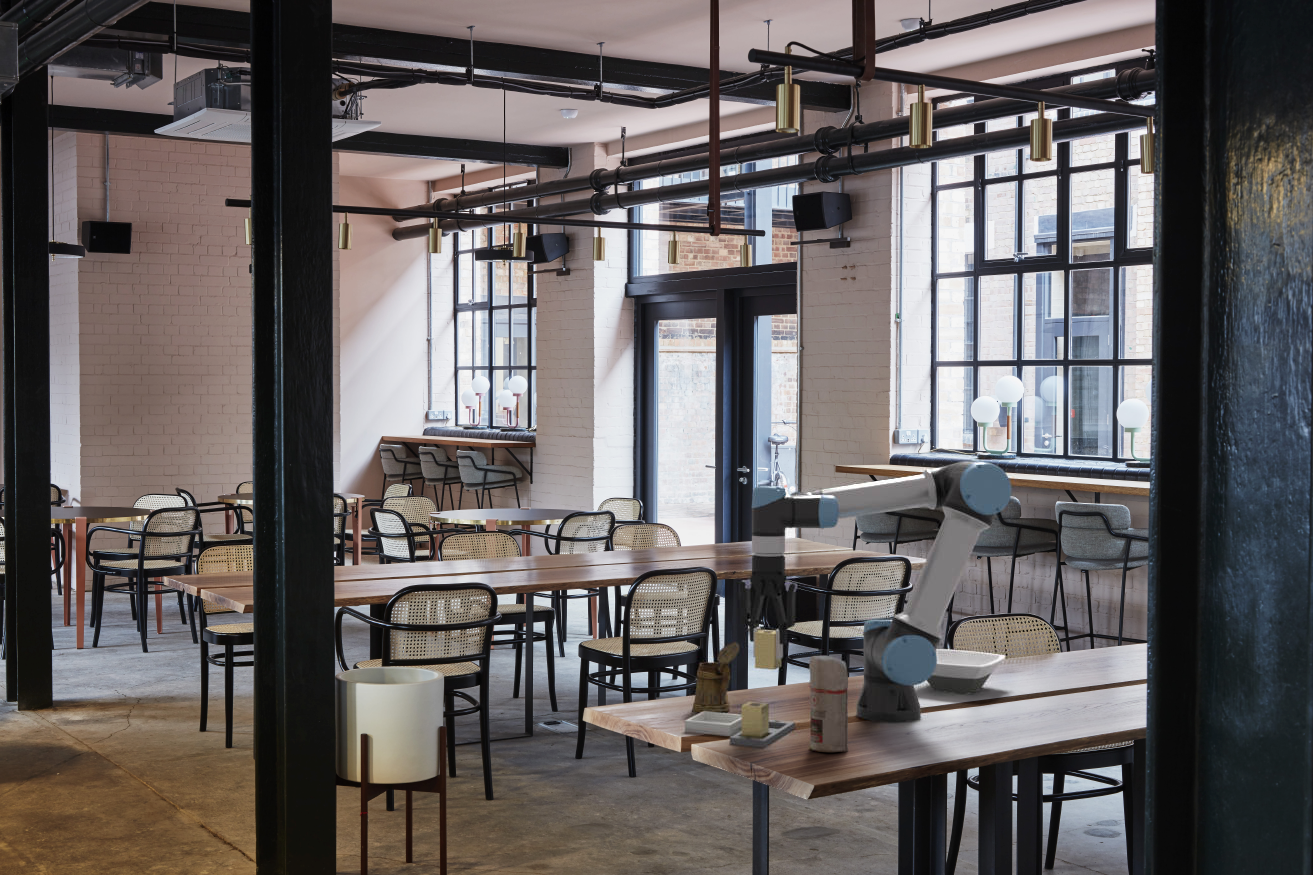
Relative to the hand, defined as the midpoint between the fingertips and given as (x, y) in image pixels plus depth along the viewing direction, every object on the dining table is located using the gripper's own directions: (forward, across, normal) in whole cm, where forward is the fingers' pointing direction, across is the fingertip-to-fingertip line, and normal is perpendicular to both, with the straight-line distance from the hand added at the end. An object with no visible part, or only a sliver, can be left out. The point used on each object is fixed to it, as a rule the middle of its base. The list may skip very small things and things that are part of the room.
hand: (768, 656), depth 289 cm
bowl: (+17, -29, -67) cm, 75 cm away
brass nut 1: (+2, 0, 0) cm, 2 cm away
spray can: (+17, -18, +11) cm, 27 cm away
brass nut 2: (+17, -1, +10) cm, 20 cm away
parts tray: (+17, +11, +3) cm, 20 cm away
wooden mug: (+17, +18, -14) cm, 29 cm away
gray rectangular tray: (+17, -1, +5) cm, 17 cm away
